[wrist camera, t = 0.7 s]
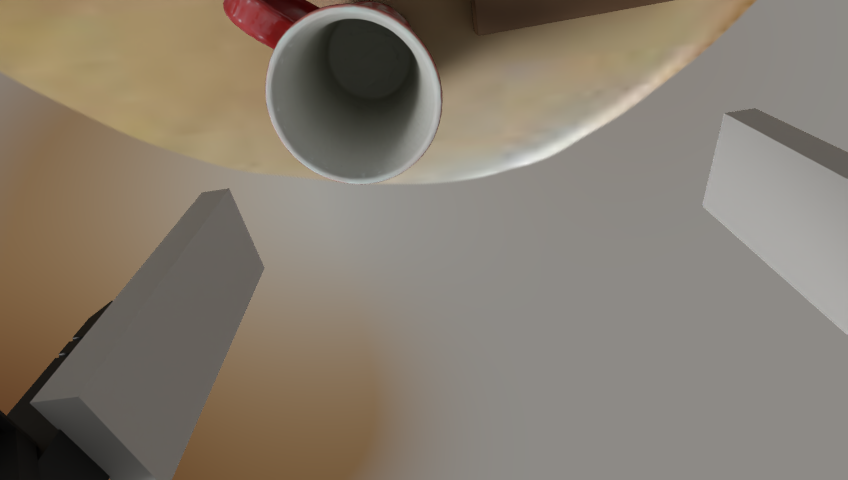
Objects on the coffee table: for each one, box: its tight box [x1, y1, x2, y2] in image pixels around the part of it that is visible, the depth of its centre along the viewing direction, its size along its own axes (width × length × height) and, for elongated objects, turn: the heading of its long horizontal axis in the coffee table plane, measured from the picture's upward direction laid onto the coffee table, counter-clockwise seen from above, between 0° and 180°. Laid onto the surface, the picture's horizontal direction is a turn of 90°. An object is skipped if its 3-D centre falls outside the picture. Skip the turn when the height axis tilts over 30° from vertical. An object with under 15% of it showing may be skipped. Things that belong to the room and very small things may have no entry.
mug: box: [223, 0, 442, 185], centre depth 27 cm, size 13×9×14 cm
